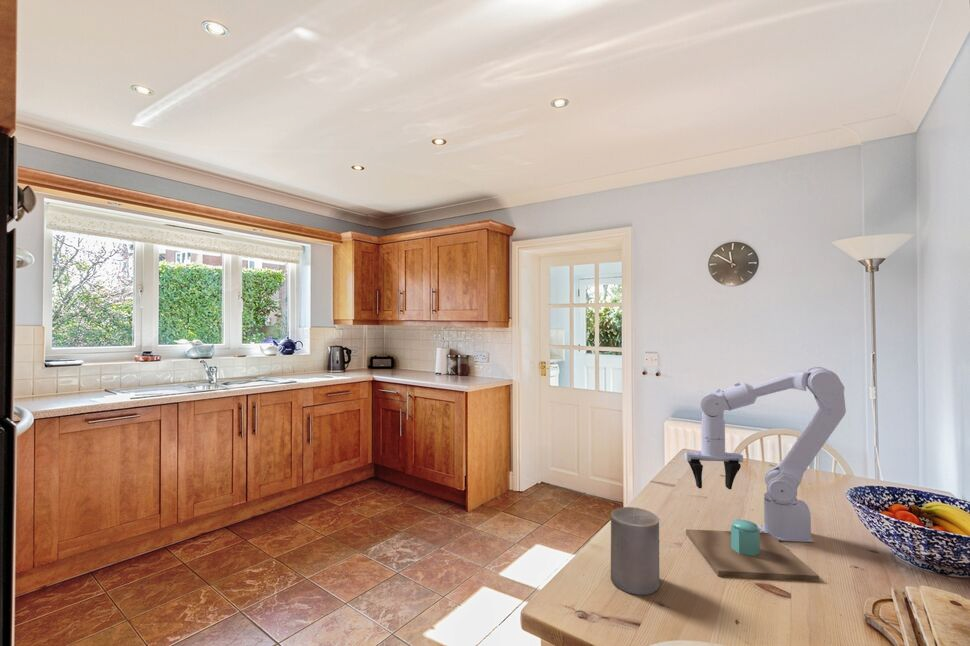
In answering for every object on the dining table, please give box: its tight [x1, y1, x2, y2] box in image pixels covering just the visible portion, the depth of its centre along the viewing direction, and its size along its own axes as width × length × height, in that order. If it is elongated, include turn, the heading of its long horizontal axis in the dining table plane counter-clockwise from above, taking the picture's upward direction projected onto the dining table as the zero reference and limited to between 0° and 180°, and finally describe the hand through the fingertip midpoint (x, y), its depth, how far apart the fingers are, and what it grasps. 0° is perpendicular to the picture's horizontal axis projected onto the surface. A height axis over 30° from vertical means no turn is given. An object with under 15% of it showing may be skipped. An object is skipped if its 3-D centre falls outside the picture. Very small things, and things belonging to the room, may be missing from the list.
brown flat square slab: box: [685, 529, 820, 582], centre depth 104 cm, size 20×20×1 cm
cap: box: [730, 519, 761, 556], centre depth 104 cm, size 5×6×6 cm
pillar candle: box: [610, 506, 661, 596], centre depth 93 cm, size 10×10×15 cm
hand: (713, 487), depth 122 cm, fingers open, 7 cm apart
